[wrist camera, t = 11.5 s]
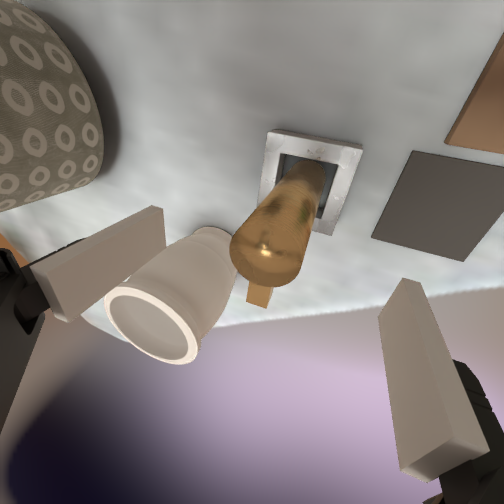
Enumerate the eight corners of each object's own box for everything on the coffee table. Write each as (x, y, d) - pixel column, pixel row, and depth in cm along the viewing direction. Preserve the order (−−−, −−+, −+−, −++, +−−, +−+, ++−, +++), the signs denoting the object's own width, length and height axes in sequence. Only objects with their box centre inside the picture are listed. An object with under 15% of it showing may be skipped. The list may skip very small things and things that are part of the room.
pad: (412, 150, 21) (413, 151, 21) (530, 172, 19) (534, 173, 19) (371, 236, 26) (371, 238, 26) (461, 259, 24) (463, 262, 24)
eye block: (275, 128, 24) (267, 131, 21) (361, 144, 22) (363, 150, 20) (263, 206, 29) (255, 215, 26) (332, 223, 27) (331, 235, 24)
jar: (262, 243, 31) (209, 330, 19) (236, 290, 38) (184, 378, 26) (193, 205, 32) (100, 267, 20) (179, 258, 38) (102, 329, 26)
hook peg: (292, 156, 25) (232, 214, 12) (330, 164, 24) (310, 235, 11) (280, 210, 28) (224, 300, 15) (313, 219, 27) (284, 321, 15)
